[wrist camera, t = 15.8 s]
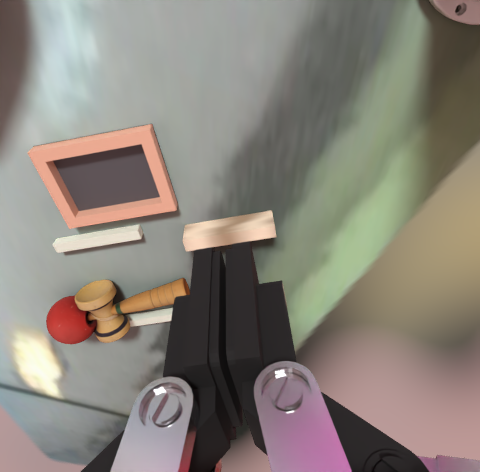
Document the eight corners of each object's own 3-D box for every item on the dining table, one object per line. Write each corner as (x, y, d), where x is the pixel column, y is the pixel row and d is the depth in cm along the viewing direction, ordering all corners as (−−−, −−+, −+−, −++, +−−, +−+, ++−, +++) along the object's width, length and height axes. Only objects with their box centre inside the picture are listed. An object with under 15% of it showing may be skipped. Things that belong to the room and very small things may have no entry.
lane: (271, 210, 42) (274, 225, 40) (284, 291, 50) (287, 308, 48) (185, 225, 43) (182, 240, 41) (210, 302, 51) (209, 319, 48)
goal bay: (139, 224, 43) (137, 230, 42) (176, 313, 52) (175, 320, 51) (56, 238, 44) (52, 244, 43) (106, 323, 53) (104, 330, 52)
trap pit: (152, 123, 36) (149, 129, 35) (177, 202, 41) (176, 210, 40) (33, 146, 37) (27, 152, 36) (73, 220, 42) (69, 228, 41)
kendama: (174, 248, 47) (35, 290, 47) (179, 288, 43) (26, 334, 43) (192, 283, 53) (68, 321, 53) (198, 322, 48) (63, 363, 48)
